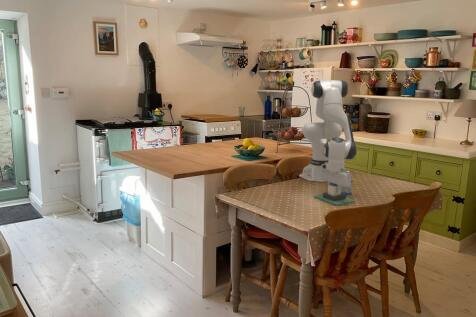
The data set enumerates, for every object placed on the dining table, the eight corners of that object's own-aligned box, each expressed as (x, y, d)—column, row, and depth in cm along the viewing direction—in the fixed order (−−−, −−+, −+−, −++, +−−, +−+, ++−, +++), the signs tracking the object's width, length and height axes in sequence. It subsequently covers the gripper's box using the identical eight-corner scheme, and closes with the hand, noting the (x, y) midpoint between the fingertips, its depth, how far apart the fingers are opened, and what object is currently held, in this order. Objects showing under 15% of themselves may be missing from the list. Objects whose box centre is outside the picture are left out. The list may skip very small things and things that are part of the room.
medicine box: (339, 195, 231) (340, 181, 229) (336, 193, 235) (336, 179, 233) (351, 194, 232) (352, 180, 230) (348, 192, 236) (349, 178, 235)
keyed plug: (327, 195, 221) (328, 183, 220) (335, 193, 224) (336, 182, 223) (332, 197, 218) (333, 185, 216) (340, 195, 221) (341, 184, 219)
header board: (313, 197, 225) (314, 191, 225) (331, 194, 232) (332, 188, 232) (336, 206, 210) (336, 199, 210) (354, 202, 217) (355, 196, 217)
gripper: (354, 170, 210) (352, 194, 213) (327, 163, 228) (326, 186, 230) (345, 171, 207) (344, 196, 210) (319, 164, 224) (318, 187, 227)
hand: (334, 191), depth 220 cm, fingers closed on keyed plug, 4 cm apart
